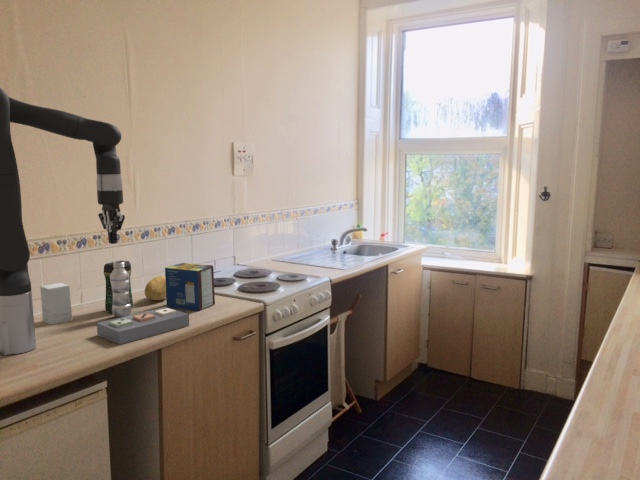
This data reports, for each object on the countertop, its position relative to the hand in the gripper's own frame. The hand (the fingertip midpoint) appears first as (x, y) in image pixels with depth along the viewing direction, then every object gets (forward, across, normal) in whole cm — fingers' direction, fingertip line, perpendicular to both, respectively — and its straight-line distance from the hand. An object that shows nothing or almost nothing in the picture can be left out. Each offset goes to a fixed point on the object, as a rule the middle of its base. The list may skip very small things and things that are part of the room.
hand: (113, 243), depth 167 cm
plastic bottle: (+29, -14, +9) cm, 34 cm away
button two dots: (+29, +6, -2) cm, 29 cm away
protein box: (+29, -8, +34) cm, 46 cm away
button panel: (+29, +6, +6) cm, 30 cm away
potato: (+29, -26, +31) cm, 50 cm away
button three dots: (+29, +6, +6) cm, 30 cm away
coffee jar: (+29, -23, +13) cm, 39 cm away
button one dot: (+29, +6, +14) cm, 32 cm away
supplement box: (+29, -27, -8) cm, 41 cm away
